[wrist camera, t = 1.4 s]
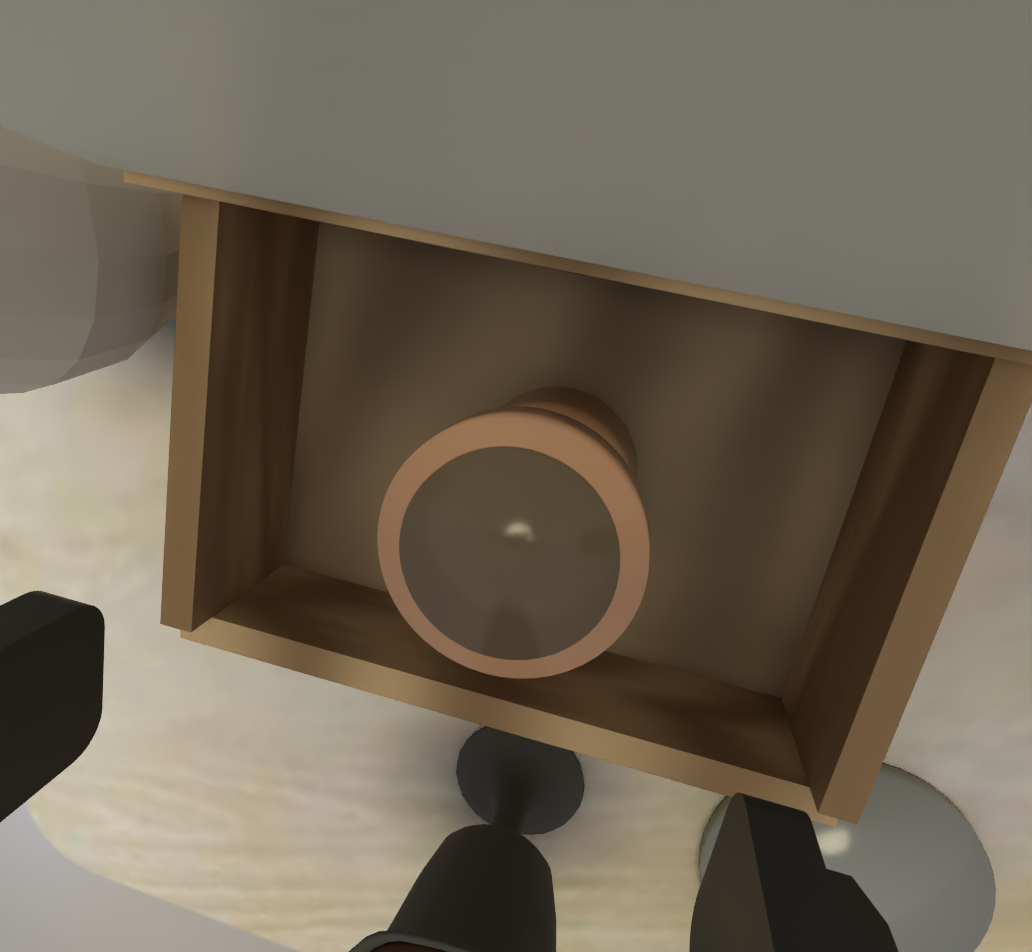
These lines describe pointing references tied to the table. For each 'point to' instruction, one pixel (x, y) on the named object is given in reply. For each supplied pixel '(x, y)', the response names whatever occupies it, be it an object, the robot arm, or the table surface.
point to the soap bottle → (78, 264)
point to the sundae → (492, 855)
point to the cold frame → (660, 474)
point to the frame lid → (589, 131)
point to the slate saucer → (907, 863)
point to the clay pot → (519, 535)
